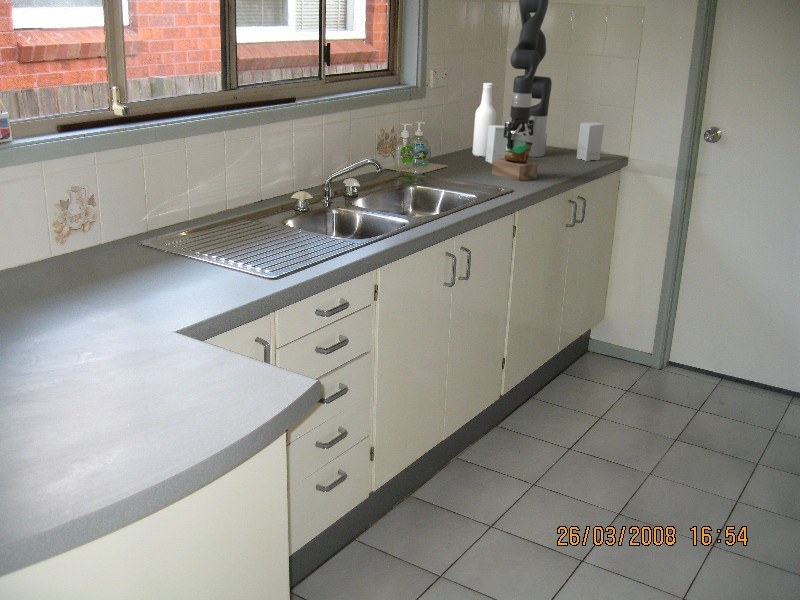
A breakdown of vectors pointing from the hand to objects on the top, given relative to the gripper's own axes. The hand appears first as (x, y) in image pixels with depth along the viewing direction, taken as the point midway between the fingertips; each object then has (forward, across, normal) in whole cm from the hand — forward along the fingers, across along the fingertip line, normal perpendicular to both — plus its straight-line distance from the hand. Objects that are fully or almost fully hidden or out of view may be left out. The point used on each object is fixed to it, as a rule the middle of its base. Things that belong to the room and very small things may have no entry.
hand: (517, 148), depth 333 cm
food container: (+5, +2, 0) cm, 5 cm away
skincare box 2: (+11, -54, -6) cm, 55 cm away
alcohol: (+11, -20, -36) cm, 43 cm away
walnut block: (+11, 0, 0) cm, 11 cm away
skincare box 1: (+11, -14, -22) cm, 28 cm away
